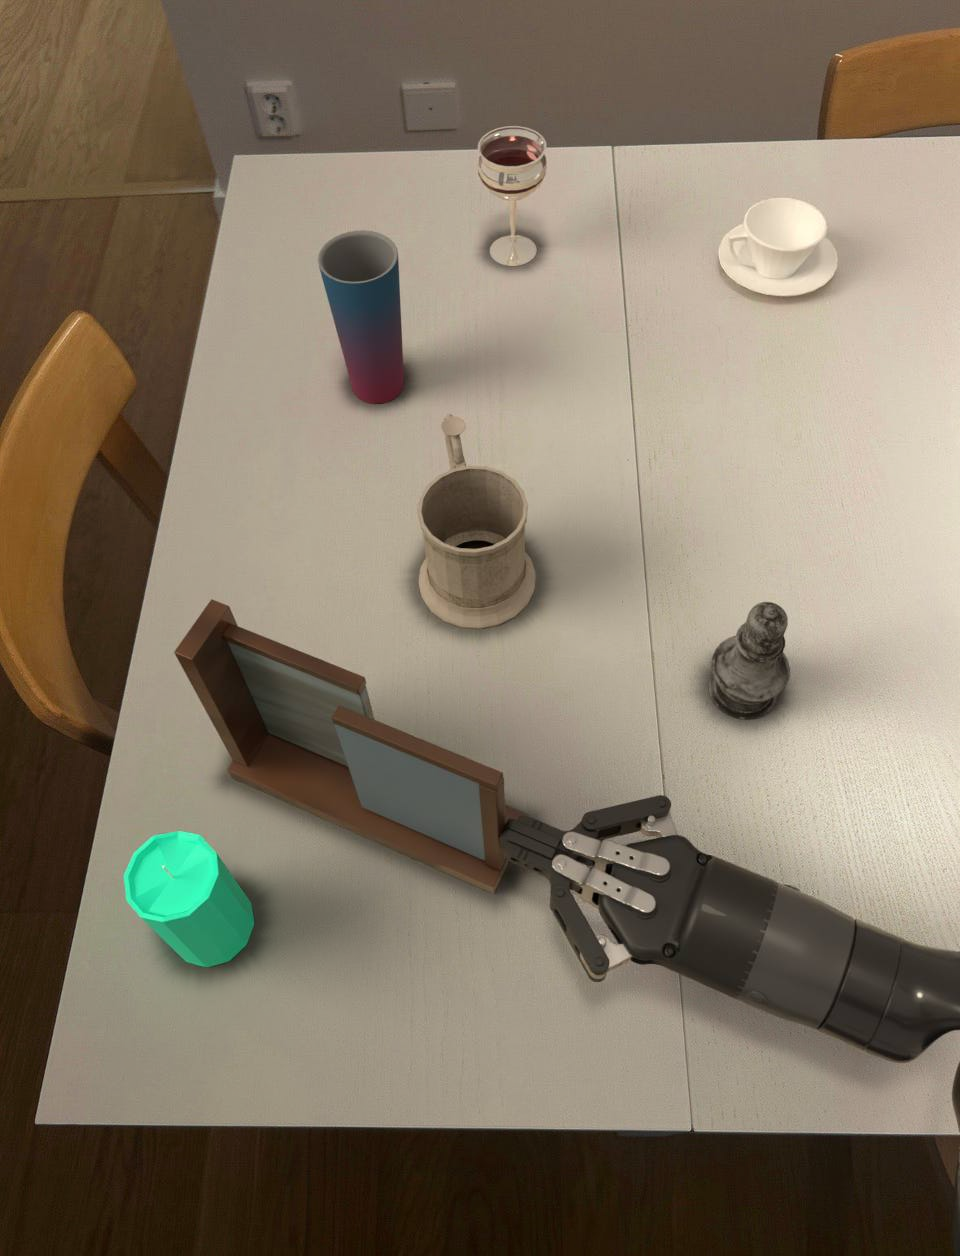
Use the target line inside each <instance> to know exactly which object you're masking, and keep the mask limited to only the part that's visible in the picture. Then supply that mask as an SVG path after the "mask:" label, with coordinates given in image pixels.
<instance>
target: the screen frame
mask: <svg viewBox="0 0 960 1256" xmlns="http://www.w3.org/2000/svg"><path fill="white" fill-rule="evenodd" d="M173 654H174V655H175V657H176V660H178V663H179V665H180V666H181V668H182V670H183V672H184V674H185V676H186V677H187V679H188V681H189V683H190V684H191V687H192V689H193V690H194V692H195V694H196V696H197V698H198V699H199V702H200V703H201V705H202V706H203V708H204V710H205V712H206V714H207V716H208V717H209V718H208V719H210V721H211V723H212V725H213V727H214V728H215V731H216V732H217V734H218V736H219V738H220V740H221V741H222V743H223V745H224V748H225V749H226V751H227V753H228V755H229V757H230V758H231V760H232V761H231V763H230V764H229V766H228V767H227V769H226V771H227V772H228V774H229V775H230V777H231V779H233V780H236V781H238V782H240V783H243V784H245V785H247V786H249V787H251V788H254V789H256V790H258V791H261V792H263V793H265V794H267V795H269V796H271V797H274V798H276V799H278V800H281V801H283V802H285V803H287V804H289V805H292V806H295V807H296V808H299V809H301V810H303V811H305V812H307V813H310V814H312V815H315V816H316V817H319V818H321V819H324V820H325V821H328V822H330V823H332V824H335V825H337V826H339V827H342V828H344V829H346V830H348V831H351V832H352V833H355V834H357V835H359V836H362V837H364V838H366V839H368V840H371V841H373V842H375V843H377V844H379V845H382V846H384V847H386V848H388V849H391V850H394V851H396V852H398V853H400V854H403V855H404V856H407V857H409V858H411V859H414V860H416V861H418V862H421V863H422V864H425V865H427V866H429V867H431V868H433V869H436V870H439V871H440V872H443V873H445V874H448V875H450V876H451V877H454V878H455V879H456V878H457V879H458V880H461V881H463V882H465V883H467V884H470V885H473V886H474V887H477V888H479V889H481V890H484V891H486V892H487V893H490V894H493V895H494V894H495V893H496V890H497V888H498V886H499V884H500V882H501V880H502V878H503V876H504V873H505V871H506V869H507V867H508V865H509V862H510V861H509V860H508V859H507V858H506V860H505V862H504V864H503V866H502V868H501V870H498V869H496V868H494V867H491V866H489V865H487V864H485V861H484V860H482V859H480V858H477V857H475V856H473V855H470V854H468V853H466V852H463V851H461V850H459V849H457V848H454V847H452V846H450V845H447V844H445V843H443V842H441V841H438V840H436V839H434V838H431V837H429V836H427V835H425V834H422V833H420V832H418V831H415V830H413V829H411V828H408V827H406V826H404V825H402V824H399V823H397V822H395V821H392V820H390V819H388V818H386V817H383V816H381V815H379V814H376V813H374V812H372V811H370V810H367V809H365V808H363V807H362V806H361V803H360V800H359V797H358V794H357V791H356V788H355V785H354V782H353V779H352V776H351V773H350V770H349V767H348V764H347V761H346V758H345V755H344V751H343V748H342V745H341V742H340V739H339V736H338V733H337V730H336V727H335V724H334V723H333V721H332V716H333V714H334V712H335V711H336V709H337V707H338V706H342V707H344V708H347V709H349V710H352V711H354V712H357V713H359V714H361V715H364V716H366V717H369V718H371V719H374V720H376V719H375V716H374V711H373V707H372V704H371V701H370V696H369V692H368V689H367V680H366V676H364V675H362V674H361V675H360V674H359V673H356V672H353V671H351V670H348V669H345V668H344V667H341V666H338V665H336V664H333V663H331V662H328V661H325V660H323V659H321V658H319V657H316V656H313V655H311V654H308V653H306V652H303V651H301V650H298V649H296V648H293V647H291V646H288V645H286V644H283V643H281V642H279V641H276V640H274V639H271V638H269V637H266V636H265V635H261V634H258V633H256V632H254V631H251V630H248V629H246V628H243V627H241V626H238V623H237V621H236V619H235V616H234V614H233V611H232V609H231V607H230V605H228V604H225V603H222V602H220V601H218V600H215V599H213V598H211V599H210V600H209V602H208V603H207V605H206V606H205V607H204V609H203V610H202V612H201V613H200V614H199V616H198V618H197V619H196V620H195V622H194V623H193V624H192V626H191V627H190V629H189V630H188V631H187V633H186V634H185V636H184V637H183V639H182V640H181V642H179V644H178V646H177V647H176V648H175V650H174V651H173ZM519 816H528V813H526V812H524V811H521V810H519V809H517V808H514V807H512V806H510V805H507V804H505V818H506V823H507V821H508V819H509V818H511V819H515V820H518V818H519Z"/></svg>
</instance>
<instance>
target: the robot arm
mask: <svg viewBox="0 0 960 1256" xmlns="http://www.w3.org/2000/svg"><path fill="white" fill-rule="evenodd" d="M671 808H672V802H671V799H670V798H669V797H668V796H666V795H663V794H659V795H655V796H650V797H647V798H643V799H638V800H634V801H630V802H625V803H620V804H617V805H613V806H607V807H603V808H599V809H595V810H590V811H587V812H585V813H584V814H583V815H582V817H581V820H580V821H579V823H577V825H576V826H575V827H573V828H572V829H571V830H561V829H560V828H557V827H554V826H551V825H550V824H547V823H545V822H543V821H540V820H537V819H535V818H533V817H530V816H529V815H527V816H519V818H518V820H515V819H511V818H509V819H508V821H507V823H506V825H505V827H504V829H503V831H502V833H501V835H500V837H499V846H500V847H501V848H502V849H504V855H505V857H506V858H507V859H508V860H509V862H510V863H512V864H515V865H517V866H519V867H521V868H524V869H526V870H529V871H530V872H532V873H535V874H537V875H540V876H542V877H544V878H545V879H546V880H547V881H548V882H549V885H550V891H549V892H550V896H549V909H550V910H551V912H552V914H553V916H554V918H555V920H556V921H557V923H558V925H559V927H560V928H561V930H562V932H563V934H564V936H565V937H566V939H567V942H568V943H569V944H570V945H569V946H571V949H572V950H573V952H574V953H575V956H576V957H577V959H578V961H579V963H580V965H581V966H582V968H583V970H584V972H585V973H586V975H587V977H588V979H589V980H590V981H592V982H593V983H601V982H603V981H604V980H606V977H607V975H608V973H610V972H611V971H613V970H615V969H617V968H619V967H620V966H622V965H624V964H627V963H628V962H632V963H633V964H636V965H641V966H644V965H656V966H661V967H662V968H665V969H667V970H670V971H671V972H674V973H676V974H677V975H681V976H683V977H684V978H685V977H686V978H687V979H689V980H692V981H695V982H697V983H699V984H701V985H703V986H705V987H708V988H710V989H713V990H715V991H717V992H719V993H721V994H724V995H726V996H727V997H730V998H733V999H735V1000H738V1001H739V1002H742V1003H744V1004H746V1005H749V1006H750V1007H753V1008H755V1009H757V1010H760V1011H762V1012H765V1013H767V1014H768V1015H771V1016H773V1017H777V1018H779V1019H782V1020H785V1021H788V1022H792V1023H796V1024H800V1025H802V1026H806V1027H808V1028H810V1029H813V1030H817V1031H818V1032H820V1033H823V1034H825V1035H827V1036H829V1037H831V1038H833V1039H836V1040H838V1041H841V1042H843V1043H845V1044H847V1045H850V1046H852V1047H854V1048H856V1049H859V1050H861V1051H863V1052H865V1053H868V1054H870V1055H872V1056H875V1057H876V1058H880V1059H882V1060H885V1061H887V1062H892V1063H895V1064H907V1063H910V1062H912V1061H915V1060H916V1059H918V1058H919V1057H921V1055H922V1054H924V1053H925V1052H926V1051H927V1050H928V1049H929V1048H930V1047H931V1046H932V1045H933V1044H934V1043H935V1042H937V1041H938V1040H939V1039H940V1038H941V1037H943V1036H945V1035H946V1034H949V1033H951V1032H954V1031H960V951H957V950H953V949H946V948H940V947H934V946H933V947H932V946H928V945H923V944H919V943H915V942H912V941H910V940H908V939H906V938H903V937H901V936H898V935H897V934H894V933H892V932H889V931H886V930H884V929H882V928H879V927H877V926H875V925H872V924H870V923H867V922H865V921H862V920H860V919H858V918H854V917H853V916H851V915H849V914H847V913H844V912H843V911H841V910H839V909H837V908H836V907H834V906H832V905H830V904H828V903H827V902H825V901H823V900H821V899H820V898H817V897H816V896H813V895H811V894H808V893H805V892H803V891H801V890H800V889H799V888H798V887H795V886H793V885H790V884H787V883H784V884H783V883H781V882H779V881H776V880H773V879H771V878H768V877H767V876H764V875H761V874H759V873H756V872H754V871H752V870H749V869H747V868H744V867H742V866H739V865H737V864H734V863H733V862H730V861H727V860H725V859H723V858H720V857H717V856H716V855H712V854H709V853H705V852H703V851H701V850H699V849H698V848H697V847H696V846H695V845H694V844H693V843H692V842H691V840H690V839H688V838H687V837H685V836H683V835H680V834H678V832H677V830H676V826H675V823H674V821H673V818H672V814H671ZM639 832H640V833H641V834H642V835H643V836H644V837H648V838H649V837H651V838H650V839H645V840H640V841H636V842H631V843H628V844H625V845H623V844H620V843H618V842H614V841H611V840H608V839H612V838H616V837H617V838H618V837H621V836H624V835H630V834H634V833H639ZM652 837H653V838H652ZM654 837H655V838H654ZM573 894H574V895H575V896H577V897H579V898H580V899H581V900H582V901H583V902H584V903H586V904H588V905H590V906H592V907H594V908H595V909H597V910H598V912H599V914H600V917H601V918H602V921H603V922H604V923H605V925H606V926H607V928H608V929H609V932H610V933H611V934H612V936H613V937H614V939H615V941H616V943H615V942H613V941H612V940H611V939H610V938H609V937H608V936H607V935H605V934H597V935H596V934H595V932H594V930H593V929H592V927H591V926H590V925H591V924H590V923H589V921H588V920H587V918H586V916H585V915H584V913H583V911H582V910H581V908H580V905H579V904H578V902H577V901H576V899H575V896H574V895H573ZM951 1101H952V1108H953V1110H954V1115H955V1119H956V1124H957V1129H958V1132H959V1133H960V1060H959V1062H958V1064H957V1067H956V1070H955V1073H954V1078H953V1081H952V1088H951ZM951 1217H952V1218H951V1219H952V1220H951V1221H952V1222H951V1224H952V1225H951V1226H952V1244H953V1251H954V1256H960V1145H959V1147H958V1154H957V1162H956V1169H955V1177H954V1187H953V1200H952V1216H951Z"/></svg>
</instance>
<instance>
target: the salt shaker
mask: <svg viewBox="0 0 960 1256" xmlns="http://www.w3.org/2000/svg"><path fill="white" fill-rule="evenodd" d="M788 625H789V619H788V614H787V613H786V610H785V609H783V608H782V606H781V605H779V604H777V603H775V602H772V601H762V602H758V603H756V604H755V605H754V606H752V608H751V609H750V610H749V612H748V614H747V617H746V620H745V622H744V623H743V624H741V625H740V627H739V628H738V629H737V631H736V634H735V635H734V636H729V637H727V638H726V639H725V640H722V642H720V643H719V645H718V646H717V647H716V648H715V650H714V652H713V654H712V657H711V671H712V673H711V675H710V678H709V681H708V682H709V683H708V692H709V696H710V698H711V700H712V702H713V703H714V705H715V706H716V707H717V708H718V710H720V711H721V712H722V713H724V714H726V715H727V716H729V717H732V718H735V719H738V720H755V719H758V718H760V717H764V716H765V715H766V714H768V713H769V712H770V711H771V710H772V708H773V707H774V706H775V704H776V701H777V697H778V695H780V694H781V693H782V692H783V691H784V690H785V688H786V687H787V686H788V683H789V680H790V677H791V665H790V663H789V659H788V657H787V656H786V654H785V652H784V651H785V647H786V639H785V633H786V631H787V629H788Z"/></svg>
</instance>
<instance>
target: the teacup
mask: <svg viewBox="0 0 960 1256" xmlns="http://www.w3.org/2000/svg"><path fill="white" fill-rule="evenodd" d="M828 226H829V225H828V221H827V218H826V217H825V215H824V214H823V212H822V211H820V209H818V208H817V207H816V206H814V205H812V204H810V203H808V202H806V201H804V200H801V199H799V198H791V197H772V198H766V199H764V200H761V201H758V202H757V203H755V204H753V205H752V206H751V207H750V208H749V209H748V210H747V211H746V212H745V215H744V217H743V222H742V223H740V224H739V225H737V226H735V227H733V228H732V229H731V230H729V231H728V232H727V233H726V234H725V235H724V236H723V238H722V239H721V242H719V245H718V252H717V253H718V254H717V257H718V260H719V263H720V266H721V268H722V269H723V271H724V272H725V273H726V275H727V276H728V277H729V278H730V279H732V280H733V281H734V282H735V283H737V284H738V285H739V286H741V287H744V288H746V289H748V290H750V291H751V292H755V293H759V294H762V295H766V296H774V297H795V296H796V297H797V296H801V295H806V294H809V293H813V292H814V291H817V290H818V289H820V288H823V287H824V286H825V285H826V284H827V283H828V282H829V281H830V280H831V279H832V278H834V276H835V273H836V271H837V269H838V263H839V260H838V259H839V256H838V253H837V251H836V248H835V246H834V244H833V243H832V242H831V241H830V239H829V238H828V237H827V233H828V229H829V227H828Z"/></svg>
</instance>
